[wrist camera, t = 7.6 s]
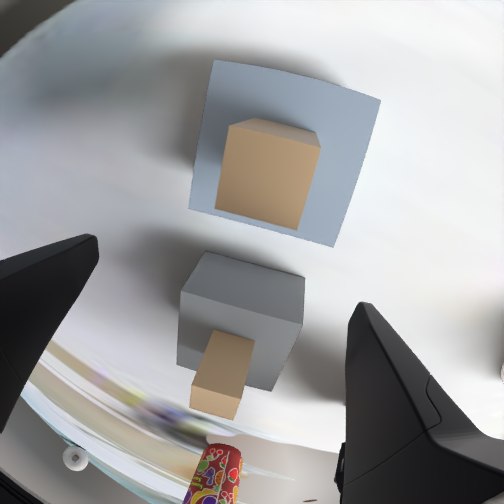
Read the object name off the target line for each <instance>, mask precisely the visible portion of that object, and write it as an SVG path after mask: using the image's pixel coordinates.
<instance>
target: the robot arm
mask: <svg viewBox="0 0 504 504" xmlns="http://www.w3.org/2000/svg"><path fill="white" fill-rule="evenodd" d="M98 260H99V250H98V240H97V237H96V236H94V235H91V234H82V235H79V236H76V237H72V238H69V239H66V240H62V241H59V242H56V243H52V244H49V245H46V246H43V247H40V248H37V249H33V250H30V251H27V252H24V253H21V254H18V255H15V256H12V257H9V258H6V259H5V260H4V259H3V260H1V261H0V433H2V432H3V430H4V428H5V425H6V423H7V421H8V419H9V416H10V414H11V412H12V410H13V408H14V406H15V404H16V402H17V400H18V398H19V396H20V394H21V392H22V390H23V388H24V385H25V384H26V382H27V380H28V378H29V376H30V375H31V373H32V371H33V369H34V367H35V365H36V364H37V362H38V360H39V358H40V357H41V355H42V353H43V351H44V350H45V348H46V346H47V345H48V343H49V341H50V340H51V338H52V336H53V335H54V333H55V332H56V330H57V328H58V327H59V325H60V324H61V322H62V321H63V319H64V317H65V316H66V314H67V313H68V311H69V310H70V308H71V307H72V305H73V304H74V302H75V301H76V299H77V298H78V296H79V295H80V293H81V291H82V289H83V288H84V286H85V284H86V282H87V280H88V279H89V277H90V275H91V273H92V272H93V270H94V268H95V266H96V265H97V263H98ZM345 381H346V442H344V443H342V446H341V449H340V453H339V459H338V464H337V469H336V474H335V478H334V482H335V483H336V484H337V487H338V490H339V492H340V494H341V495H340V504H504V440H500V439H496V438H492V437H489V436H487V435H485V434H484V433H482V432H481V431H480V430H479V429H478V428H477V427H476V426H475V425H474V424H473V423H472V421H471V420H470V419H469V418H468V417H467V416H466V415H465V414H464V412H463V411H462V410H461V409H460V408H459V407H458V406H457V405H456V404H455V402H454V401H453V400H452V399H451V398H450V397H449V396H448V395H447V393H446V392H445V391H444V390H443V389H442V387H441V386H440V385H439V384H438V382H437V381H436V380H435V379H434V377H433V376H432V375H430V372H429V371H428V370H427V369H426V367H425V366H424V365H423V364H422V363H421V361H420V360H419V359H418V358H417V356H416V355H415V354H414V353H413V352H412V350H411V349H410V348H409V347H408V346H407V344H406V343H405V342H404V341H403V340H402V338H401V337H400V336H399V335H398V334H397V333H396V331H395V330H394V329H393V328H392V327H391V325H390V324H389V323H388V322H387V321H386V320H385V319H384V317H383V316H382V315H381V314H380V313H379V312H378V310H377V309H376V308H375V307H374V306H373V305H372V304H371V303H366V302H359V303H358V304H357V306H356V308H355V310H354V312H353V314H352V316H351V318H350V320H349V323H348V334H347V349H346V362H345ZM0 504H50V503H48V502H47V501H45V500H44V499H42V498H41V497H39V496H38V495H36V494H35V493H33V492H32V491H31V490H29V489H28V488H27V487H25V486H24V485H22V484H21V483H20V482H18V481H17V480H16V479H14V478H13V477H12V476H11V475H9V474H8V473H7V472H6V471H4V470H3V469H2V468H1V467H0Z"/></svg>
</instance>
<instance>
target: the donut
mask: <svg viewBox="0 0 504 504" xmlns="http://www.w3.org/2000/svg"><path fill="white" fill-rule="evenodd" d="M74 455H78V456H79V460H78V461H77V462H73V461H72V457H73V456H74ZM63 461H64V463H65V465H66V466H67V467H68V468H69V469H72V470H74V471H80V470H83V469H84V468H85V467H86V466H87V464H88V455H87V453H86V452H85V450H84V449H82V448H81V447H79V446H70V447H68V448H67V449H66V450H65V451H64V453H63Z"/></svg>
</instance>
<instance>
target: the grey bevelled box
mask: <svg viewBox="0 0 504 504" xmlns="http://www.w3.org/2000/svg"><path fill="white" fill-rule="evenodd" d="M304 293H305V278H303V277H299V276H296V275H292V274H288V273H285V272H281V271H277V270H273V269H270V268H266V267H262V266H259V265H255V264H251V263H248V262H244V261H240V260H237V259H233V258H230V257H226V256H222V255H219V254H215V253H212V252H208V251H205V253H204V254H203V256H202V258H201V259H200V261H199V262H198V264H197V266H196V267H195V269H194V270H193V272H192V273H191V275H190V277H189V278H188V280H187V281H186V283H185V285H184V286H183V288H182V290H181V295H180V309H179V324H178V342H177V365H179V366H182V367H185V368H188V369H191V370H194V371H197V373H196V375H195V378H194V380H193V383H192V386H191V396H190V406H189V408H192V409H195V410H198V411H201V412H205V413H208V414H211V415H215V416H218V417H222V418H226V419H229V420H233V419H234V417H235V414H236V412H237V409H238V406H239V404H240V401H241V398H242V394H243V390H244V386H245V385H246V386H250V387H254V388H258V389H262V390H266V391H272V389H273V387H274V385H275V383H276V381H277V379H278V377H279V375H280V373H281V371H282V369H283V367H284V364H285V362H286V360H287V358H288V356H289V354H290V352H291V349H292V347H293V345H294V343H295V341H296V339H297V336H298V334H299V332H300V330H301V327H302V325H303V312H304Z"/></svg>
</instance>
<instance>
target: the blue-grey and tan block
mask: <svg viewBox="0 0 504 504" xmlns="http://www.w3.org/2000/svg"><path fill="white" fill-rule="evenodd" d="M380 102H381V100H379V99H377V98H374V97H371V96H368V95H366V94H363V93H360V92H357V91H354V90H351V89H348V88H345V87H341V86H338V85H335V84H331V83H328V82H325V81H321V80H317V79H314V78H310V77H306V76H302V75H298V74H294V73H289V72H285V71H280V70H276V69H271V68H266V67H260V66H255V65H249V64H243V63H236V62H229V61H222V60H214V61H213V66H212V70H211V75H210V80H209V85H208V90H207V95H206V100H205V105H204V111H203V116H202V122H201V128H200V133H199V139H198V145H197V152H196V158H195V165H194V171H193V178H192V185H191V193H190V200H189V208H188V209H191V210H195V211H199V212H203V213H207V214H211V215H215V216H219V217H223V218H226V219H230V220H234V221H238V222H242V223H245V224H249V225H253V226H257V227H261V228H264V229H268V230H272V231H275V232H279V233H283V234H286V235H290V236H294V237H297V238H301V239H304V240H308V241H312V242H315V243H319V244H322V245H326V246H329V247H334V245H335V242H336V239H337V237H338V234H339V231H340V228H341V226H342V223H343V220H344V217H345V215H346V212H347V209H348V206H349V203H350V200H351V197H352V194H353V192H354V189H355V186H356V183H357V180H358V176H359V173H360V170H361V167H362V164H363V161H364V158H365V154H366V151H367V148H368V145H369V141H370V138H371V135H372V131H373V128H374V124H375V121H376V117H377V114H378V110H379V106H380Z"/></svg>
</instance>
